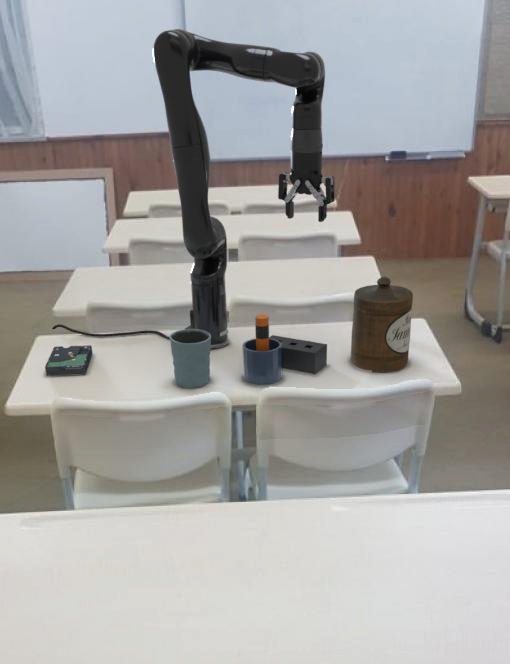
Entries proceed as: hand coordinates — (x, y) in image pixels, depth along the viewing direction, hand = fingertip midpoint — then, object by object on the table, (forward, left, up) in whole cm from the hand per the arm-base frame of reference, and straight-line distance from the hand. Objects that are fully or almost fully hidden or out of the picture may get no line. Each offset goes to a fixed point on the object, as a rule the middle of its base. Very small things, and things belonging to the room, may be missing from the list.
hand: (305, 219), depth 210 cm
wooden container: (+21, +1, -34) cm, 40 cm away
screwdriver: (-1, -22, -34) cm, 40 cm away
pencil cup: (-1, -22, -34) cm, 41 cm away
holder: (+2, -11, -34) cm, 36 cm away
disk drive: (-52, -36, -34) cm, 72 cm away
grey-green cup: (-16, -31, -34) cm, 49 cm away
